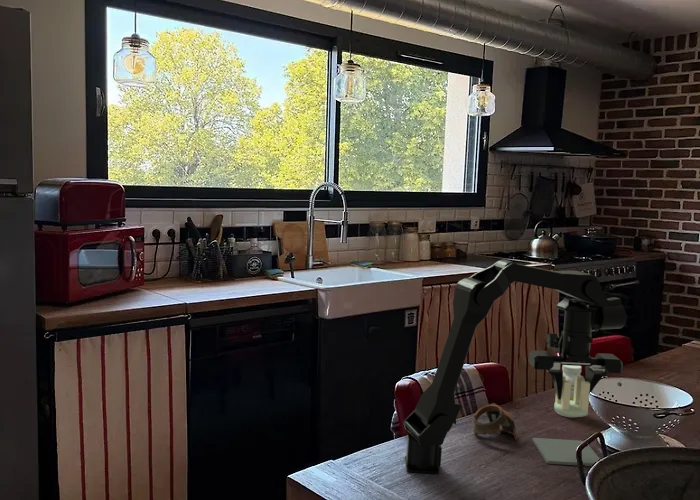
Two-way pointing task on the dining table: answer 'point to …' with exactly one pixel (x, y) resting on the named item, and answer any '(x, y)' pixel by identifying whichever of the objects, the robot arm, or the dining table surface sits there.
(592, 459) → the mat
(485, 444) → the dining table surface
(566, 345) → the robot arm
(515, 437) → the brown curved piece
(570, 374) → the supplement bottle
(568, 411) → the stool
